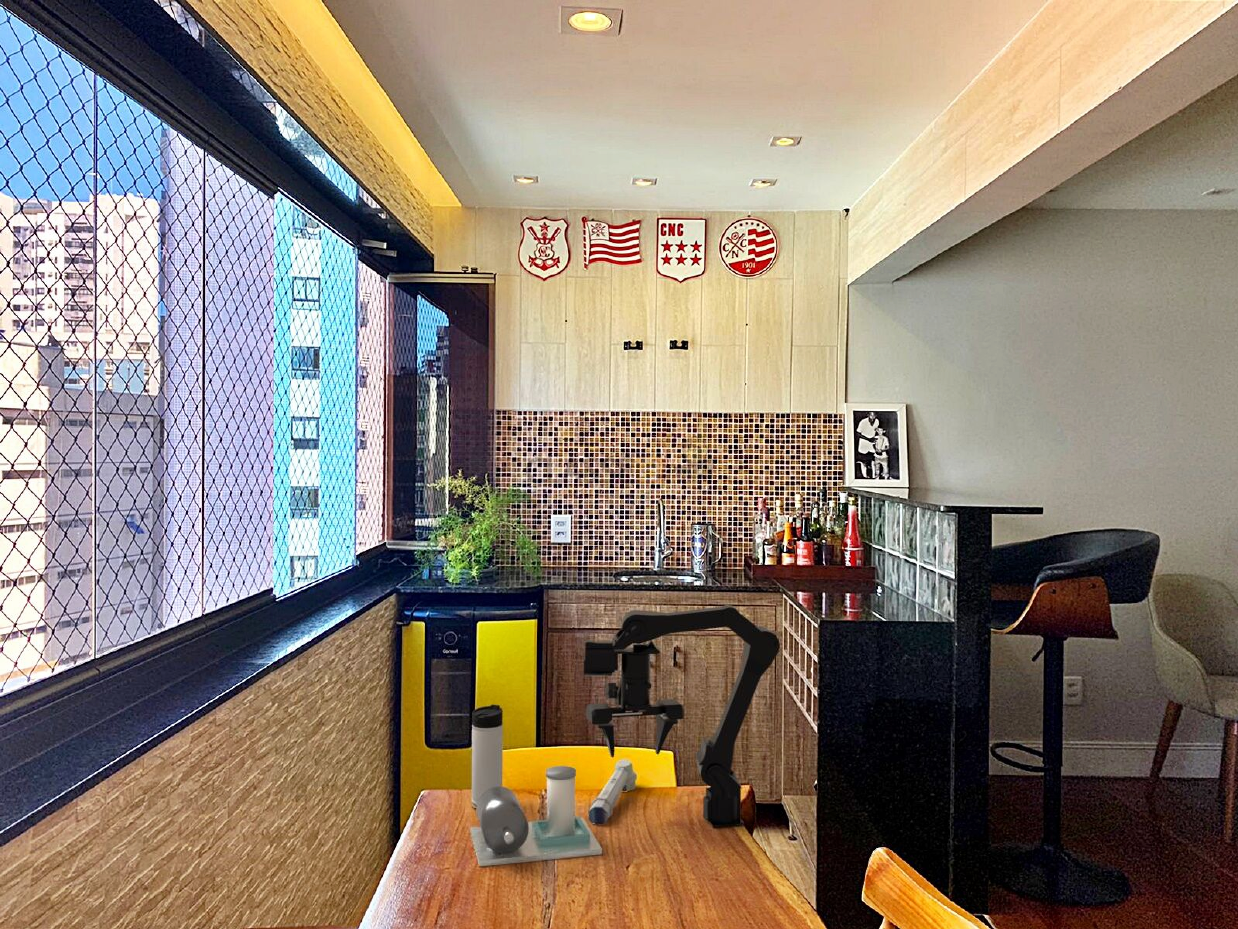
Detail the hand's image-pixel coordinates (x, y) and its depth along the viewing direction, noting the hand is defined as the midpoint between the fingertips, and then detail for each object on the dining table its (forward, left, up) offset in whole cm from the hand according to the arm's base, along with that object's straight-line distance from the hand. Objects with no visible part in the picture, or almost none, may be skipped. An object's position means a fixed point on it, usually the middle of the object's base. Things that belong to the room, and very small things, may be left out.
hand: (634, 755), depth 187 cm
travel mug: (+27, -16, -13) cm, 34 cm away
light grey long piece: (+1, -11, -14) cm, 18 cm away
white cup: (+16, +6, -12) cm, 21 cm away
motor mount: (+21, +7, -13) cm, 26 cm away
